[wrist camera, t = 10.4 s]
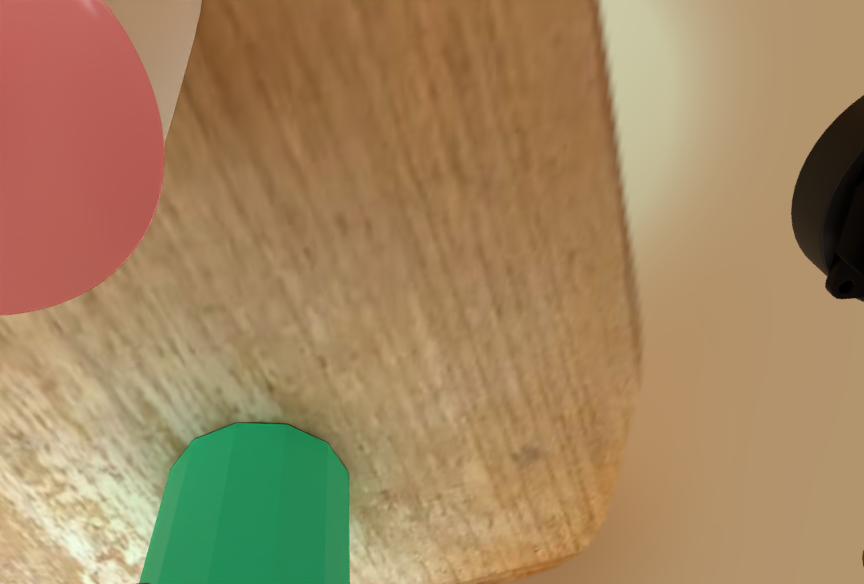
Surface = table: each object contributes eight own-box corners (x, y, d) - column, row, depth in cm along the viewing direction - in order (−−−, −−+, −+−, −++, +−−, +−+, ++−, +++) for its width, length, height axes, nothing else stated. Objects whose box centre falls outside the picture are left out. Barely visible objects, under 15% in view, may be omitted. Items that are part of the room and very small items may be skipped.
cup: (233, -156, 15) (-11, -115, 5) (258, 105, 18) (141, 478, 7) (-49, -166, 14) (-1021, -147, 4) (24, 104, 17) (-440, 507, 7)
